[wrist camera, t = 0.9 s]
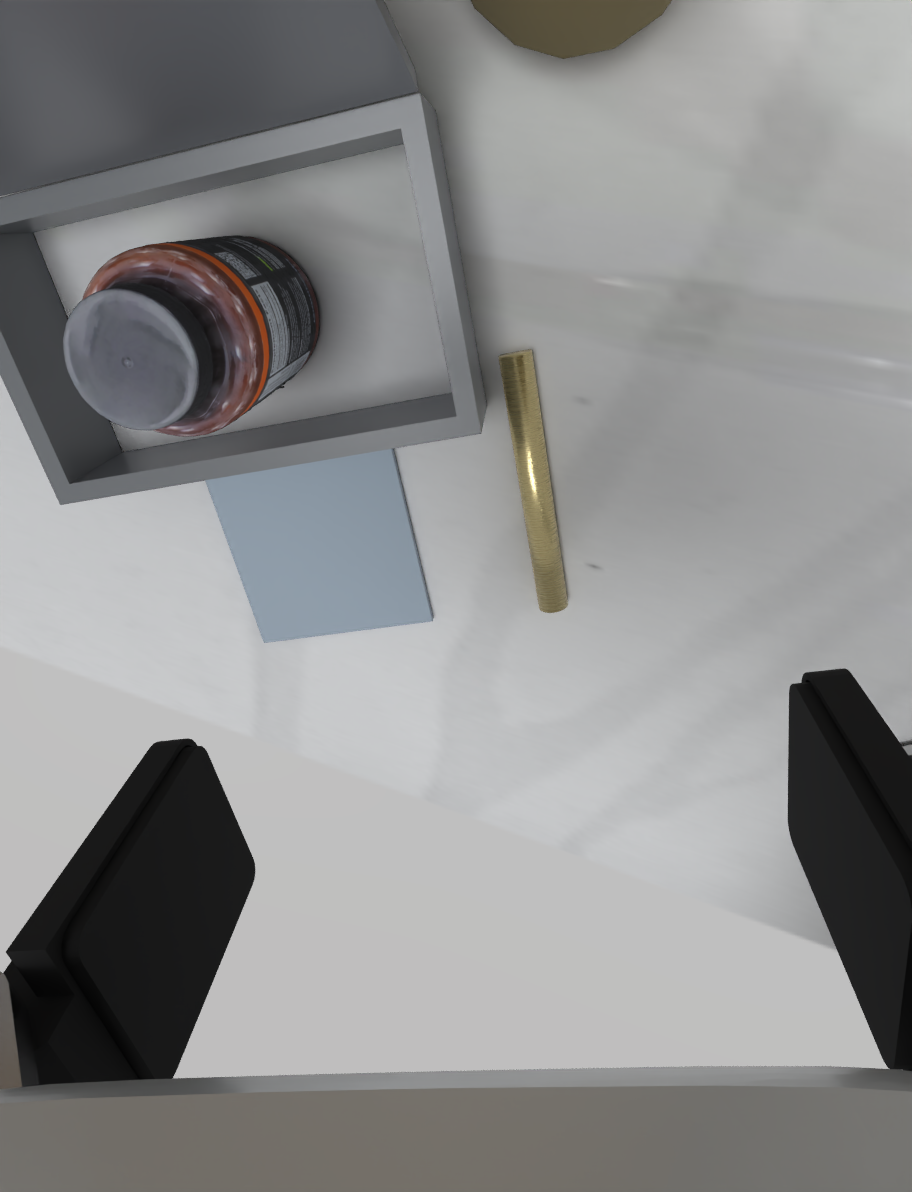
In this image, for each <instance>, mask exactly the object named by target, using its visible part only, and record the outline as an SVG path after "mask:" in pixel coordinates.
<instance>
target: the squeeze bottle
mask: <svg viewBox="0 0 912 1192" xmlns="http://www.w3.org/2000/svg"><path fill="white" fill-rule="evenodd" d="M671 1H672V0H471V2H472V4H473V6H474V8H475V9H476V10H477V11H478V12H479V13H480V14H482V15H483V16H484V17H485V18H486V19H487V20H488V21H489V22H490V23H491V24H492V25H494V26H495V27H496V28H497V29H498V30H499V31H500V32H501V33H502V34H503V35H505V36H506V37H507V38H508V39H509V40H510V41H511V42H512V43H513V44H514V45H517V46H520V47H524V48H527V49H531V50H534V51H538V52H541V53H545V54H548V55H552V56H555V57H559V58H562V59H565V58H570V57H575V56H580V55H585V54H590V53H595V52H600V51H605V50H610V49H614V48H616V47H617V46H619V45H620V44H621V43H623V42H624V41H626V40H627V39H628V38H630V37H631V36H633V35H634V34H635V33H637V32H638V31H640V30H641V29H642V28H644V27H645V26H647V25H648V24H649V23H651V22H652V21H654V20H655V19H656V18H658V17H659V16H661V15H662V14H663V12H664V11H665V9H666V8H667V6H668V5H669V4H670V2H671Z"/></svg>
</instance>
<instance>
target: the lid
mask: <svg viewBox="0 0 912 1192" xmlns="http://www.w3.org/2000/svg"><path fill="white" fill-rule="evenodd" d="M414 92H418V85H417V79H416V73H415V68H414V66H413V64H412V62H411V60H410V57H409V55H408V53H407V51H406V49H405V46H404V44H403V42H402V40H401V38H400V35H399V33H398V31H397V29H396V27H395V24H394V22H393V20H392V18H391V16H390V13H389V11H388V9H387V7H386V4H385V2H384V0H0V196H3V195H7V194H11V193H14V192H18V191H22V190H26V189H30V188H34V187H38V186H42V185H46V184H50V183H54V182H58V181H62V180H66V179H70V178H74V177H78V176H82V175H86V174H90V173H94V172H98V171H102V170H106V169H110V168H114V167H118V166H122V165H126V164H130V163H134V162H138V161H142V160H146V159H150V158H154V157H158V156H162V155H166V154H170V153H174V152H178V151H182V150H186V149H190V148H194V147H198V146H202V145H206V144H210V143H214V142H218V141H222V140H226V139H230V138H234V137H238V136H242V135H246V134H250V133H254V132H258V131H262V130H266V129H270V128H274V127H278V126H282V125H286V124H290V123H294V122H298V121H302V120H306V119H310V118H314V117H318V116H322V115H326V114H330V113H334V112H338V111H342V110H346V109H350V108H354V107H358V106H362V105H366V104H370V103H374V102H378V101H382V100H386V99H390V98H394V97H398V96H402V95H406V94H410V93H414Z"/></svg>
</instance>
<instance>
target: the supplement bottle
mask: <svg viewBox="0 0 912 1192" xmlns="http://www.w3.org/2000/svg"><path fill="white" fill-rule="evenodd" d="M318 331H319V313H318V305H317V301H316V298H315V294H314V292H313V289H312V287H311V284H310V282H309V281H308V279H307V277H306V275H305V274H304V272H303V271H302V270H301V269H300V268H299V266H298V265H297V264H296V263H295V262H294V261H293V260H292V259H291V257H289V256H288V255H287V254H286V253H284V252H283V251H282V250H280V249H279V248H277V247H276V246H273V245H271V244H270V243H268V242H266V241H263V240H259V239H256V238H253V237H244V236H223V237H213V238H205V239H196V240H185V241H176V242H166V243H159V244H151V245H145V246H142V247H138V248H134V249H131V250H128V251H125V252H123V253H121V254H119V255H117V256H115V257H114V258H112V259H110V260H109V261H108V262H107V263H106V264H104V265H103V266H102V267H101V268H100V269H99V270H98V271H97V273H96V274H95V275H94V277H93V278H92V280H91V281H90V283H89V285H88V287H87V289H86V291H85V293H84V296H83V299H82V301H81V302H79V304H78V305H77V306H76V307H75V308H74V310H73V311H72V313H71V314H70V316H69V319H68V321H67V323H66V326H65V331H64V336H63V350H64V352H63V353H64V357H65V363H66V366H67V370H68V372H69V375H70V377H71V379H72V381H73V383H74V386H75V387H76V388H77V390H78V391H79V393H80V395H81V396H82V398H83V399H84V400H85V401H86V402H87V403H88V404H89V405H90V406H91V407H92V408H93V409H95V410H96V411H97V412H98V413H99V414H100V415H102V416H104V417H105V418H107V419H108V420H110V421H112V422H114V423H116V424H118V425H121V426H123V427H127V428H130V429H136V430H154V431H156V432H159V433H165V434H169V435H176V436H198V435H199V436H200V435H205V434H209V433H211V432H215V431H217V430H219V429H222V428H224V427H225V426H227V425H229V424H230V423H232V422H233V421H235V420H237V419H238V418H239V417H240V416H241V415H243V414H245V413H246V412H247V411H249V410H251V408H252V407H254V406H255V405H257V404H258V403H260V402H261V401H262V400H264V399H265V398H266V397H268V396H269V395H270V394H272V392H274V391H275V390H276V389H279V388H284V386H282V385H284V384H285V382H287V381H288V380H290V379H291V378H293V377H294V376H295V374H296V373H297V372H298V371H299V370H300V369H301V368H302V367H303V366H304V364H305V363H306V362H307V361H308V359H309V357H310V356H311V354H312V352H313V349H314V347H315V344H316V342H317V337H318Z"/></svg>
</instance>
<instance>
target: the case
mask: <svg viewBox="0 0 912 1192" xmlns="http://www.w3.org/2000/svg"><path fill="white" fill-rule="evenodd" d="M400 144H404V147H405V152H406V157H407V162H408V167H409V173H410V178H411V183H412V188H413V193H414V198H415V204H416V209H417V214H418V219H419V224H420V229H421V235H422V240H423V245H424V250H425V255H426V260H427V266H428V271H429V276H430V281H431V286H432V291H433V297H434V302H435V307H436V312H437V317H438V322H439V328H440V333H441V338H442V343H443V348H444V353H445V359H446V364H447V369H448V374H449V379H450V384H451V390H452V393H449V394H444V395H438V396H432V397H427V398H421V399H416V400H410V401H405V402H399V403H394V404H388V405H382V406H377V407H371V408H366V409H360V410H355V411H349V412H344V413H338V414H332V415H327V416H321V417H316V418H310V419H305V420H299V421H294V422H288V423H282V424H277V425H271V426H266V427H260V428H255V429H249V430H244V431H238V432H232V433H227V434H221V435H216V436H210V437H205V438H199V439H194V440H188V441H182V442H177V443H171V444H166V445H160V446H155V447H149V448H144V449H138V450H132V451H127V452H122V451H121V448H120V446H119V444H118V441H117V439H116V436H115V434H114V431H113V429H112V426H111V424H110V421H109V420H108V419H107V418H105V417H104V416H102V415H100V414H99V413H98V412H97V411H96V410H95V409H93V408H92V407H91V406H90V405H89V404H88V403H87V402H86V401H85V400H84V399H83V398H82V396H81V395H80V393H79V391H78V390H77V388H76V387H75V386H74V383H73V381H72V379H71V377H70V375H69V372H68V370H67V366H66V363H65V357H64V353H63V352H64V350H63V336H64V331H65V326H66V323H67V321H68V318H67V316H66V313H65V311H64V309H63V306H62V304H61V301H60V299H59V296H58V294H57V291H56V289H55V286H54V284H53V282H52V279H51V277H50V274H49V272H48V269H47V267H46V264H45V262H44V259H43V257H42V255H41V252H40V250H39V247H38V245H37V242H36V240H35V237H34V235H33V232H36V231H40V230H45V229H49V228H53V227H57V226H61V225H65V224H70V223H74V222H78V221H82V220H86V219H90V218H95V217H99V216H103V215H107V214H111V213H116V212H120V211H124V210H128V209H132V208H136V207H141V206H145V205H149V204H153V203H157V202H162V201H166V200H170V199H174V198H178V197H182V196H187V195H191V194H195V193H199V192H203V191H208V190H212V189H216V188H220V187H224V186H228V185H233V184H237V183H241V182H245V181H249V180H254V179H258V178H262V177H266V176H270V175H274V174H279V173H283V172H287V171H291V170H295V169H299V168H304V167H308V166H312V165H316V164H320V163H325V162H329V161H333V160H337V159H341V158H345V157H350V156H354V155H358V154H362V153H366V152H371V151H375V150H379V149H383V148H387V147H391V146H396V145H400ZM0 375H1V377H2V379H3V382H4V384H5V386H6V388H7V390H8V392H9V395H10V397H11V399H12V401H13V403H14V406H15V408H16V410H17V412H18V414H19V416H20V419H21V421H22V423H23V425H24V427H25V429H26V432H27V434H28V436H29V438H30V440H31V442H32V445H33V447H34V449H35V451H36V453H37V455H38V458H39V460H40V462H41V464H42V466H43V468H44V471H45V473H46V475H47V477H48V479H49V481H50V484H51V486H52V488H53V490H54V492H55V494H56V497H57V499H58V501H59V503H60V505H63V504H69V503H75V502H81V501H87V500H92V499H98V498H104V497H110V496H116V495H122V494H128V493H134V492H140V491H145V490H151V489H157V488H163V487H169V486H175V485H181V484H187V483H193V482H199V481H204V480H210V479H216V478H222V477H228V476H234V475H240V474H246V473H252V472H257V471H263V470H269V469H275V468H281V467H287V466H293V465H299V464H305V463H311V462H316V461H322V460H328V459H334V458H340V457H346V456H352V455H358V454H364V453H369V452H375V451H381V450H387V449H393V448H399V447H405V446H411V445H417V444H423V443H428V442H434V441H440V440H446V439H452V438H458V437H464V436H470V435H476V434H481V432H482V427H483V422H484V418H485V413H486V408H487V403H486V398H485V392H484V386H483V380H482V375H481V369H480V363H479V357H478V352H477V346H476V340H475V334H474V329H473V323H472V317H471V311H470V306H469V300H468V294H467V288H466V283H465V277H464V271H463V265H462V260H461V254H460V248H459V242H458V237H457V231H456V225H455V219H454V214H453V208H452V202H451V196H450V191H449V185H448V179H447V173H446V168H445V162H444V156H443V150H442V145H441V139H440V133H439V127H438V122H437V116H436V110H435V109H434V108H433V107H432V106H431V104H430V103H429V102H428V101H427V100H426V99H425V98H424V97H423V96H422V95H421V93H417V94H413V95H409V96H405V97H401V98H397V99H393V100H389V101H385V102H381V103H377V104H373V105H369V106H365V107H361V108H357V109H353V110H349V111H345V112H341V113H337V114H333V115H329V116H325V117H321V118H317V119H313V120H309V121H305V122H301V123H297V124H293V125H289V126H285V127H281V128H277V129H273V130H269V131H265V132H261V133H257V134H253V135H249V136H245V137H241V138H237V139H233V140H229V141H225V142H221V143H217V144H213V145H209V146H205V147H201V148H197V149H193V150H189V151H185V152H181V153H177V154H173V155H169V156H165V157H161V158H157V159H153V160H149V161H145V162H141V163H137V164H133V165H129V166H125V167H121V168H117V169H113V170H109V171H105V172H101V173H97V174H93V175H89V176H85V177H81V178H77V179H73V180H69V181H65V182H61V183H57V184H53V185H49V186H45V187H41V188H37V189H33V190H29V191H25V192H21V193H17V194H13V195H9V196H5V197H1V198H0Z"/></svg>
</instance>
